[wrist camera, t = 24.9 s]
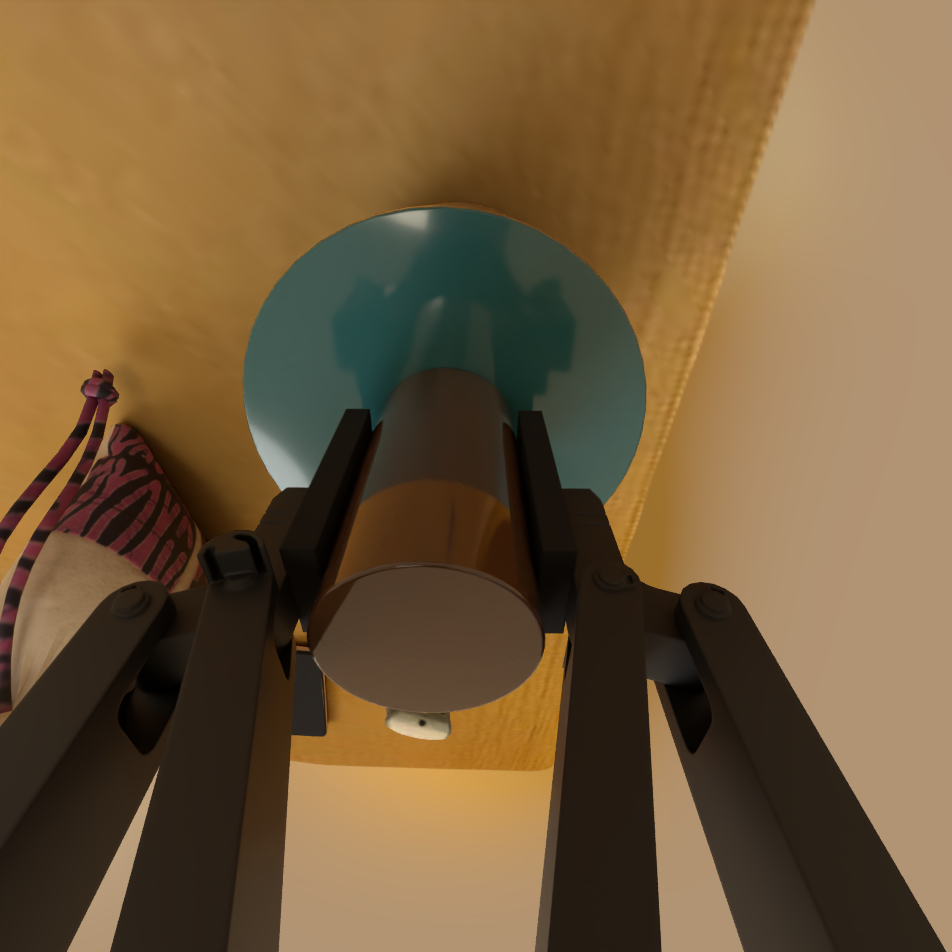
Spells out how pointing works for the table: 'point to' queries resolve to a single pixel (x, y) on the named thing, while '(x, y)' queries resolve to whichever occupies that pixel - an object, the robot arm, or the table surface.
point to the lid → (439, 436)
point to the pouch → (89, 543)
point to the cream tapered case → (419, 724)
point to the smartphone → (308, 696)
